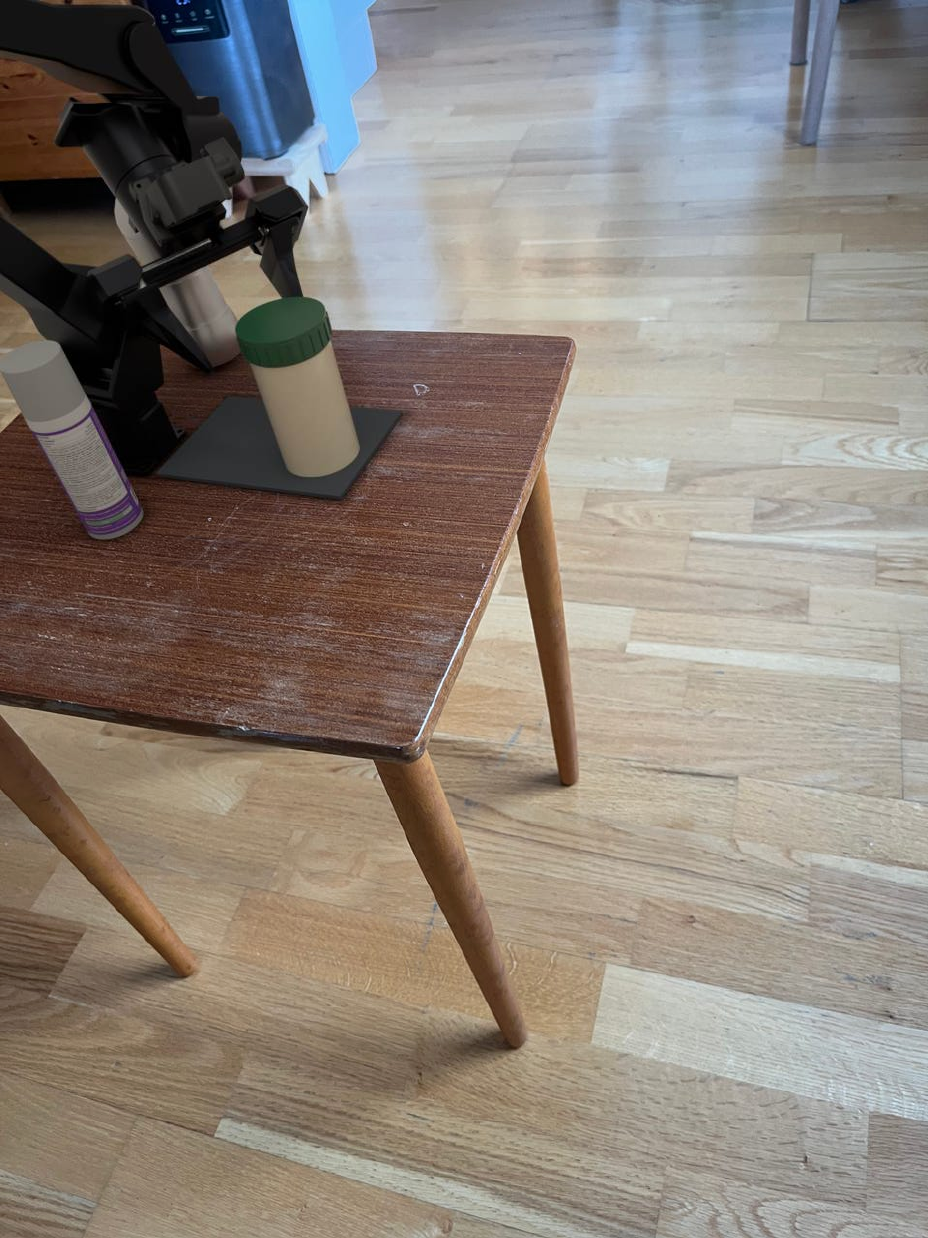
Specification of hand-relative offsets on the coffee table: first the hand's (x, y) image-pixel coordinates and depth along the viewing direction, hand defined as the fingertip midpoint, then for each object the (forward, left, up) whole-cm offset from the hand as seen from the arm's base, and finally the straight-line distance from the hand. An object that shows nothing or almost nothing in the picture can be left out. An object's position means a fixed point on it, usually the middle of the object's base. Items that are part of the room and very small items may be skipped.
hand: (260, 346), depth 77 cm
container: (-9, -14, -9) cm, 18 cm away
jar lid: (+5, -3, +4) cm, 7 cm away
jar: (+5, -3, -8) cm, 10 cm away
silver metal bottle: (-14, +10, -8) cm, 19 cm away
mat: (0, -2, -8) cm, 9 cm away
